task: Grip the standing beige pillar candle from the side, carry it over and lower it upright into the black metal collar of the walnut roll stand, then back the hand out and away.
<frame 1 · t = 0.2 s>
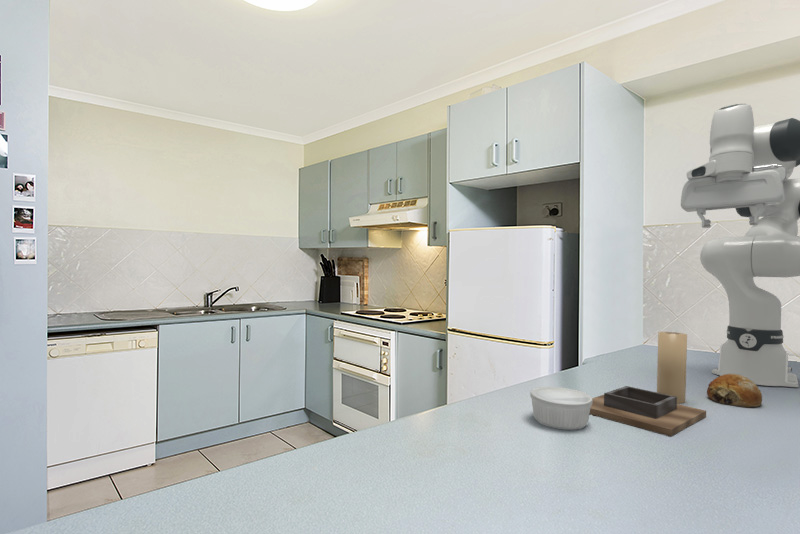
hand: (729, 226, 109), 40 cm above the countertop, tool pointing down, fingers open, 8 cm apart
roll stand: (639, 413, 93), on the countertop
bread roll: (733, 402, 103), on the countertop
ramekin: (560, 423, 87), on the countertop
beige pillar candle: (670, 399, 103), on the countertop
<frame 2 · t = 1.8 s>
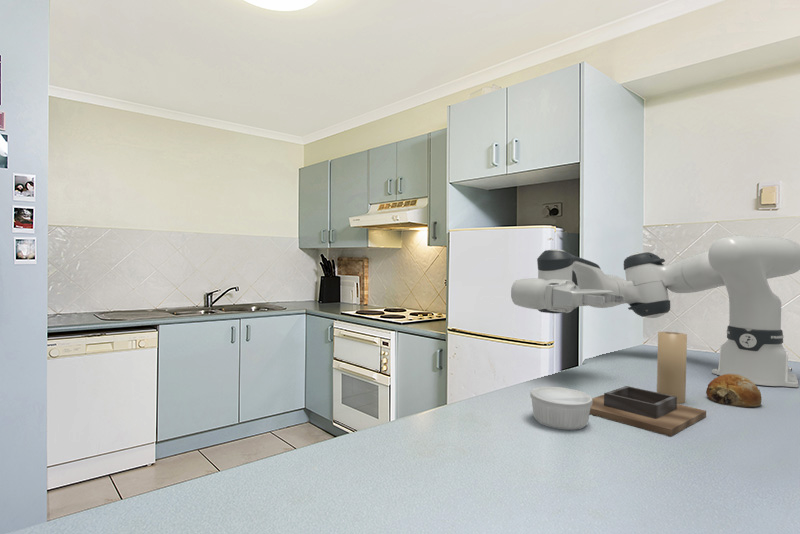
hand: (614, 299, 113), 22 cm above the countertop, tool horizontal, fingers open, 8 cm apart
nothing on the countertop moved.
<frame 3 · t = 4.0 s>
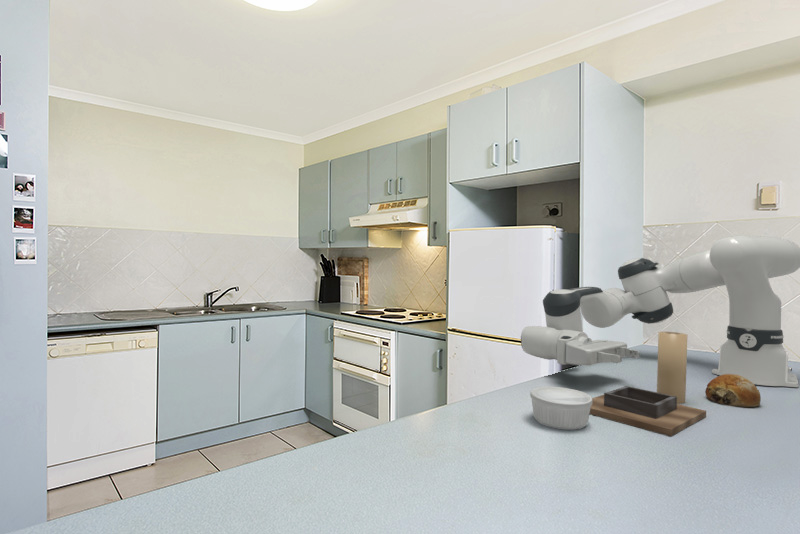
hand: (629, 357, 110), 8 cm above the countertop, tool horizontal, fingers open, 8 cm apart
nothing on the countertop moved.
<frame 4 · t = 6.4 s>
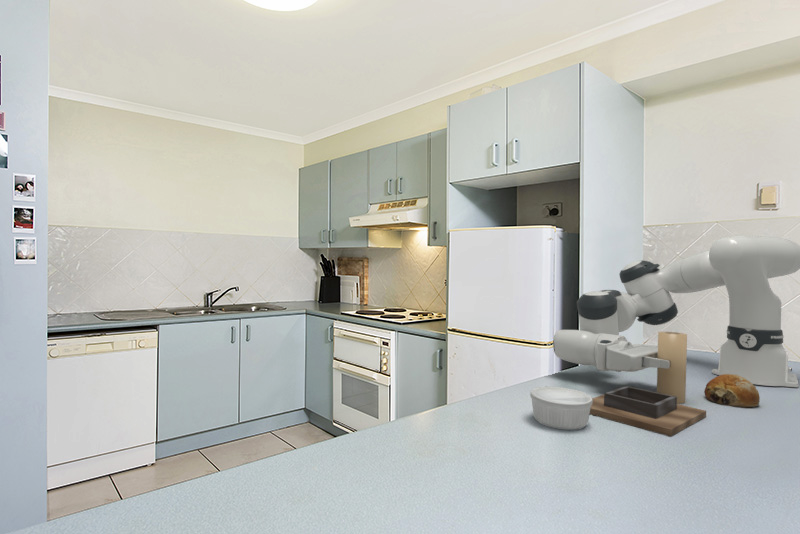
hand: (676, 362, 102), 9 cm above the countertop, tool horizontal, fingers closed on beige pillar candle, 6 cm apart
beige pillar candle: (670, 399, 103), on the countertop, touching gripper
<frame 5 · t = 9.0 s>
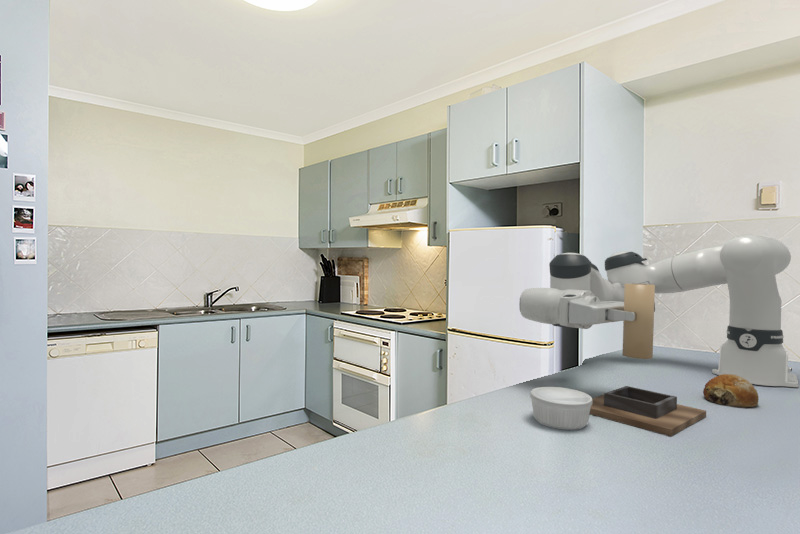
hand: (643, 315, 95), 20 cm above the countertop, tool horizontal, fingers closed on beige pillar candle, 6 cm apart
beige pillar candle: (637, 356, 96), point 11 cm above the countertop, touching gripper
when the fingers open (11 cm above the countertop, at t = 11.9 s): beige pillar candle drops 1 cm, resting on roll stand.
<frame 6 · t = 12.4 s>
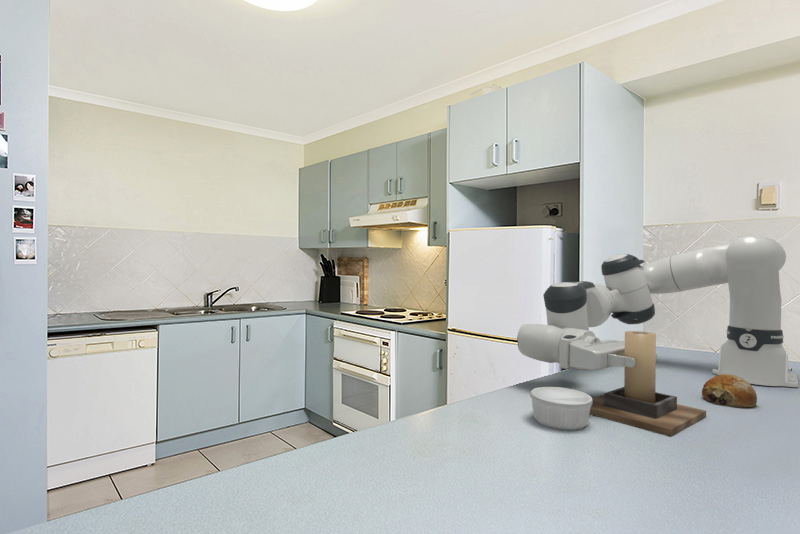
hand: (645, 360, 92), 11 cm above the countertop, tool horizontal, fingers open, 8 cm apart
beige pillar candle: (639, 406, 93), point 1 cm above the countertop, touching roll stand
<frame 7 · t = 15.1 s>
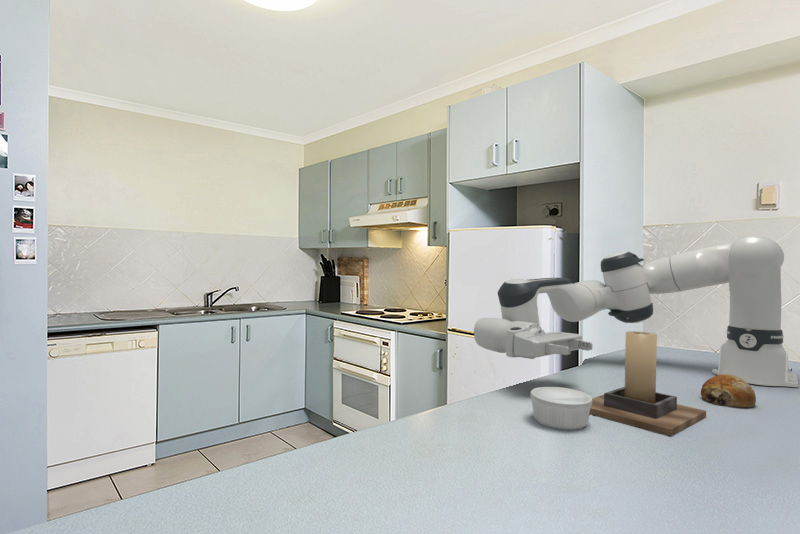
hand: (580, 348, 103), 11 cm above the countertop, tool horizontal, fingers open, 8 cm apart
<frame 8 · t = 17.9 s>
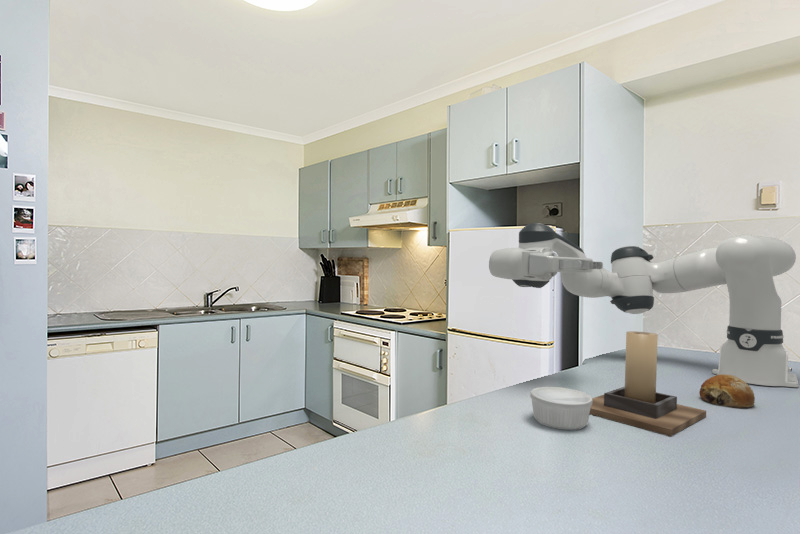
hand: (592, 265, 109), 30 cm above the countertop, tool horizontal, fingers open, 8 cm apart
at the end: beige pillar candle 0.1 cm off-centre on the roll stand, point 1.2 cm above the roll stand's base; beige pillar candle tilted 0°; the gripper is holding nothing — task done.
